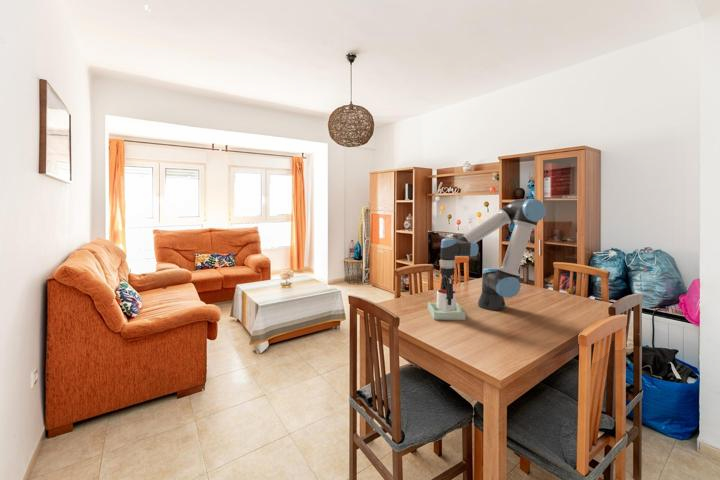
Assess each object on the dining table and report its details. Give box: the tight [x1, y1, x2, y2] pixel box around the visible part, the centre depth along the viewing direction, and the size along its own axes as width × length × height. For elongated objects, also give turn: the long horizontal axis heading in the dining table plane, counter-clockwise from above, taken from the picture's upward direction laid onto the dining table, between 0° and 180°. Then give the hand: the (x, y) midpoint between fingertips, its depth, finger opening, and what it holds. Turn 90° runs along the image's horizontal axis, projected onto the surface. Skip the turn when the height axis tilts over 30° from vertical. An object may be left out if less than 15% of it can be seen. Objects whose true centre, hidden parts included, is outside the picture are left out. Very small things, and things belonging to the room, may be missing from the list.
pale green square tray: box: [427, 301, 467, 321], centre depth 178 cm, size 16×16×4 cm
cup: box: [436, 289, 457, 312], centre depth 178 cm, size 10×10×10 cm
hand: (446, 307), depth 178 cm, fingers closed on cup, 10 cm apart
